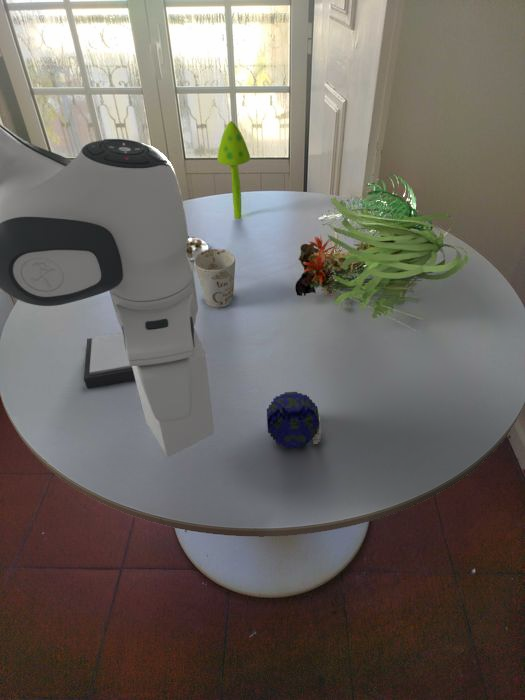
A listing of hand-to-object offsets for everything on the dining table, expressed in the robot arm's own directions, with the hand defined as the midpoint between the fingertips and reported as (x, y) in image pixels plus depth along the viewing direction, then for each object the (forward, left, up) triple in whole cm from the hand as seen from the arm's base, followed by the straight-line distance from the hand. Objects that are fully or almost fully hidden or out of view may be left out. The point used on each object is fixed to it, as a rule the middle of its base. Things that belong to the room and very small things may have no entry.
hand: (174, 387), depth 60 cm
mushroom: (+21, +77, -16) cm, 82 cm away
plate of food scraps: (+5, +63, -16) cm, 65 cm away
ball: (+16, +1, -16) cm, 23 cm away
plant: (+41, +35, -16) cm, 56 cm away
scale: (-10, +25, -16) cm, 31 cm away
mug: (+10, +42, -16) cm, 46 cm away
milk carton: (0, 0, -8) cm, 8 cm away
